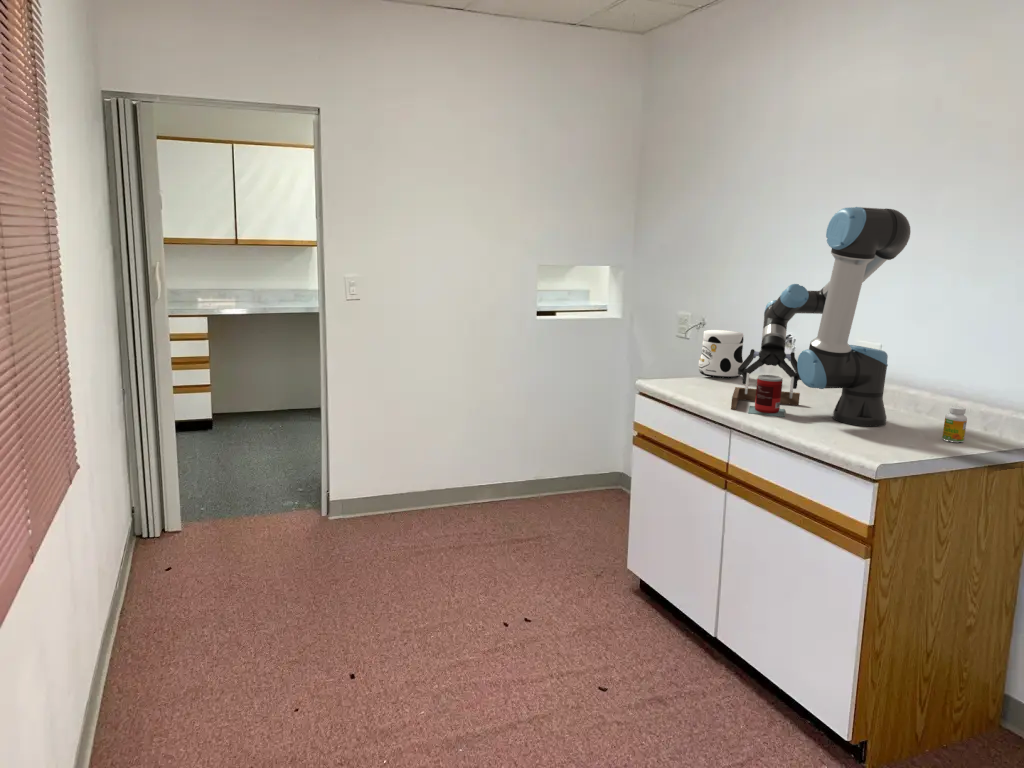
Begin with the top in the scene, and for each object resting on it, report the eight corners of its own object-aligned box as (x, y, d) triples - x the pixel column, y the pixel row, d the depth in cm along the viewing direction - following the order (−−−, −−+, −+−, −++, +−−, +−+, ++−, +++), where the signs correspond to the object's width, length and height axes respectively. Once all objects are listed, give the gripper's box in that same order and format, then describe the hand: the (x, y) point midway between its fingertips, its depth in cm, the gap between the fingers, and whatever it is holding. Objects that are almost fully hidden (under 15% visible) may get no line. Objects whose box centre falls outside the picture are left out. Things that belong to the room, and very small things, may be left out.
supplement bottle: (939, 440, 217) (944, 407, 215) (945, 437, 220) (950, 404, 218) (960, 444, 213) (965, 410, 211) (966, 441, 216) (971, 408, 215)
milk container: (689, 375, 307) (692, 331, 303) (713, 371, 318) (717, 328, 315) (726, 382, 294) (730, 336, 291) (750, 378, 306) (754, 333, 302)
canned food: (776, 408, 249) (779, 375, 247) (781, 414, 242) (785, 380, 239) (752, 407, 250) (755, 374, 248) (757, 412, 242) (760, 378, 240)
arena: (798, 404, 259) (799, 392, 258) (799, 418, 238) (801, 406, 237) (734, 398, 265) (735, 386, 264) (730, 411, 244) (731, 399, 244)
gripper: (812, 351, 253) (809, 404, 242) (734, 345, 261) (727, 396, 249) (814, 337, 247) (811, 390, 236) (734, 331, 255) (728, 383, 244)
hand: (768, 393), depth 243 cm, fingers open, 13 cm apart
